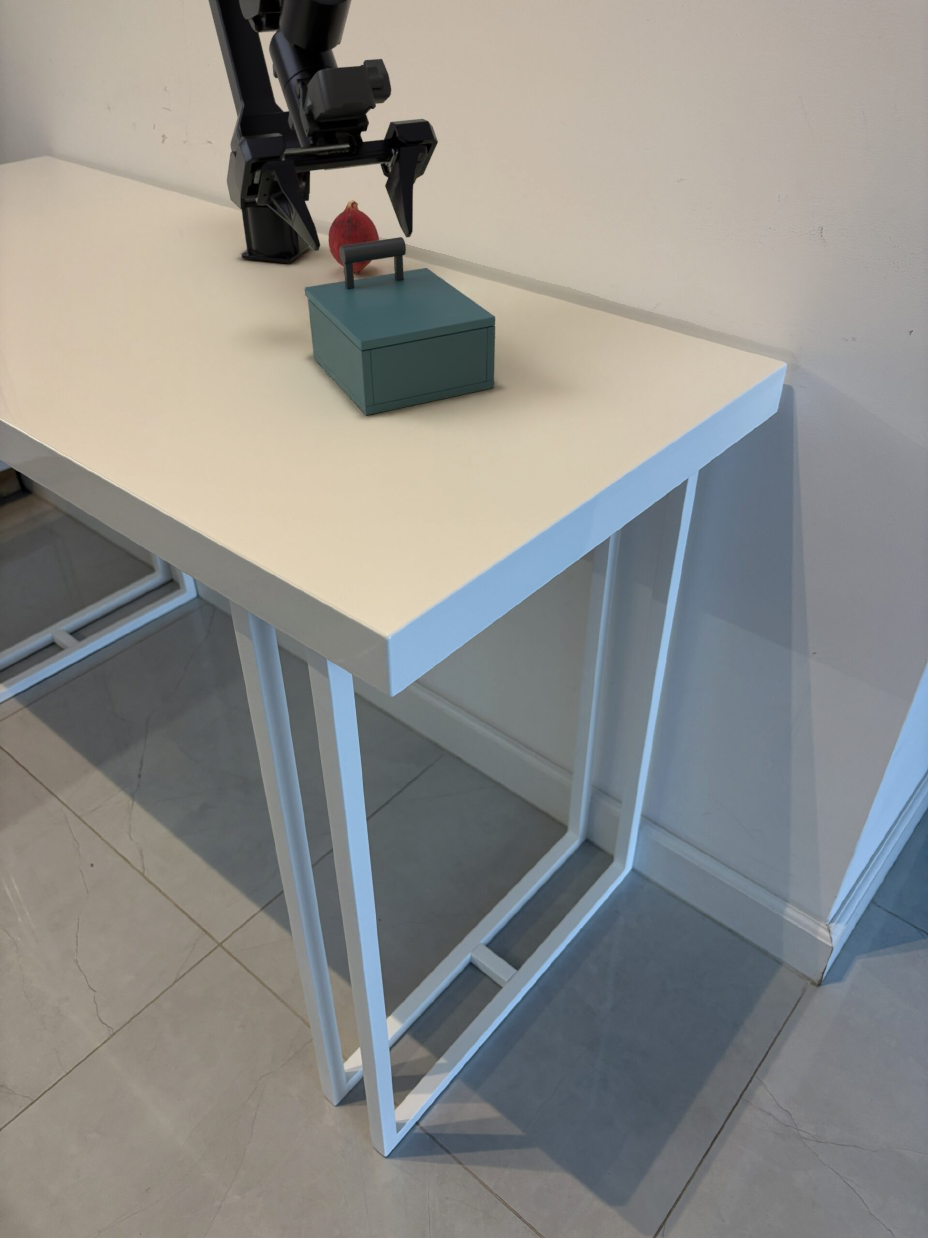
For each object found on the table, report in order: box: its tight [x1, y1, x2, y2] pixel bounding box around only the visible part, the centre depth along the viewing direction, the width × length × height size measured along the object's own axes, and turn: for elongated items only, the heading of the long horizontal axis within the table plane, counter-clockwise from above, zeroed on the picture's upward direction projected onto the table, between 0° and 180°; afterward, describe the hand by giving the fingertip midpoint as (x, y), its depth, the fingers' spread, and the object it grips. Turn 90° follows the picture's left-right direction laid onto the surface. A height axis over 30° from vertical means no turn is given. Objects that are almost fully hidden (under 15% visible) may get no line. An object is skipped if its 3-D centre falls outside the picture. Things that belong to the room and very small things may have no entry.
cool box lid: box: [303, 236, 496, 350], centre depth 83 cm, size 14×13×5 cm
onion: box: [328, 199, 380, 274], centre depth 107 cm, size 6×6×8 cm
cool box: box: [307, 298, 496, 416], centre depth 86 cm, size 14×13×6 cm
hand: (364, 241), depth 87 cm, fingers open, 9 cm apart
